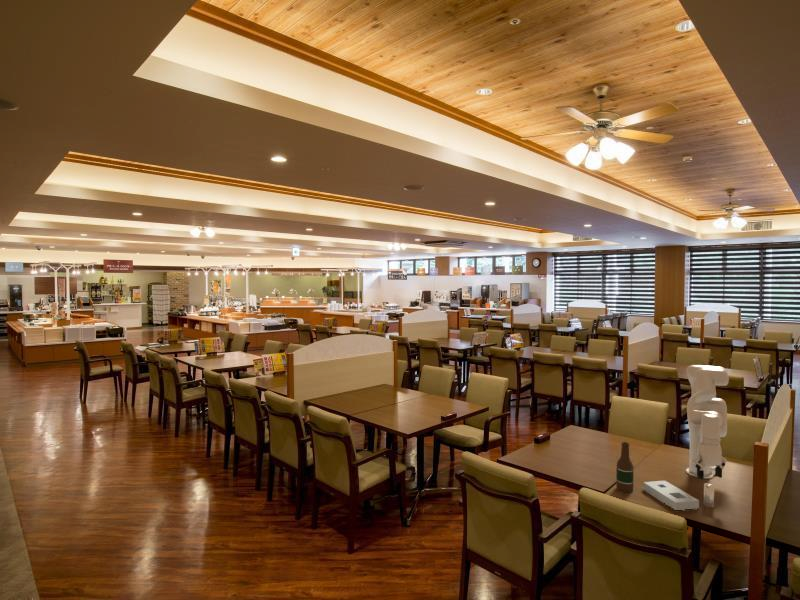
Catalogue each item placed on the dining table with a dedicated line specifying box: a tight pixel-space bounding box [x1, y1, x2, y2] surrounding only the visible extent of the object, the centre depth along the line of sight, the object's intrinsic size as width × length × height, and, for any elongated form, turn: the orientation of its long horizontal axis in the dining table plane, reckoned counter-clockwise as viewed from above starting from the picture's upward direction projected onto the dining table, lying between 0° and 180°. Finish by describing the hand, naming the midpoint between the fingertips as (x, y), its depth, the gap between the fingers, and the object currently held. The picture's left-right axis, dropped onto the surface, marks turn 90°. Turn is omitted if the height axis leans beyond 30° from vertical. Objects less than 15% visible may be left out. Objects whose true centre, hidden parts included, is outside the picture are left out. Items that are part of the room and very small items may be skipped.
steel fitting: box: [703, 482, 715, 508], centre depth 218 cm, size 4×4×10 cm
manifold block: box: [642, 480, 700, 511], centre depth 224 cm, size 12×22×4 cm, turn 9°
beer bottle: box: [615, 441, 635, 494], centre depth 235 cm, size 8×8×24 cm
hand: (709, 477), depth 217 cm, fingers open, 9 cm apart
